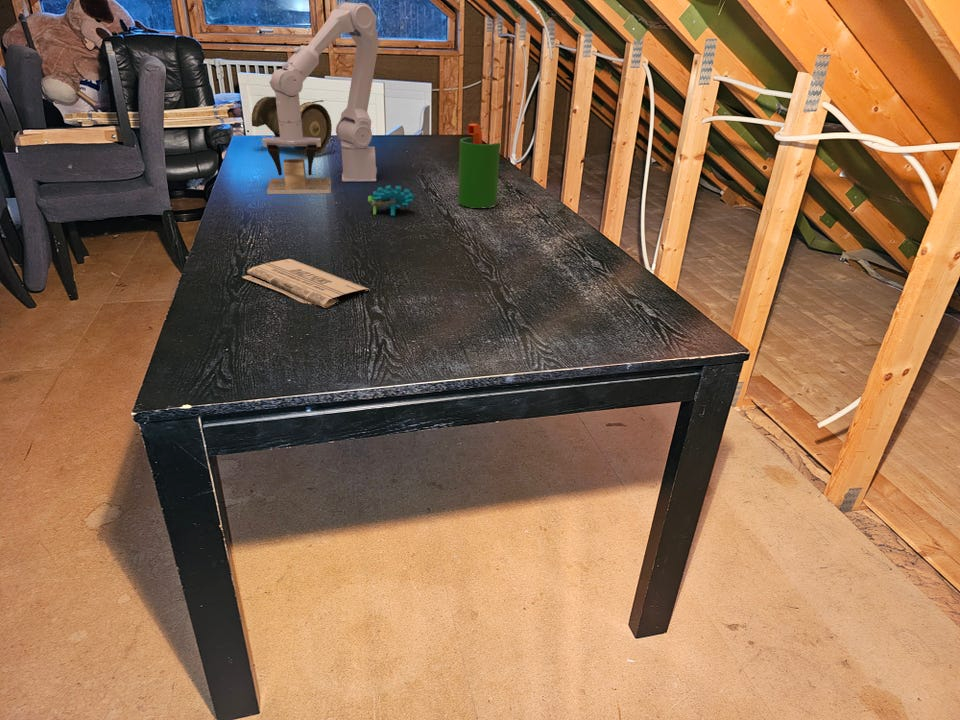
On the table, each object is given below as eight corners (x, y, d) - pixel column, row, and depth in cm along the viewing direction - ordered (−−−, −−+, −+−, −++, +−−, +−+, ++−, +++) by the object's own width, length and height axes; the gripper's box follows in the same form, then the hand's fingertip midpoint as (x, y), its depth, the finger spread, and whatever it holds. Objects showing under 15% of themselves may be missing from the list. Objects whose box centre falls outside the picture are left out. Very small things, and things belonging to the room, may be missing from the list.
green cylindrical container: (501, 203, 170) (506, 122, 160) (487, 211, 163) (491, 128, 153) (466, 197, 173) (468, 118, 164) (451, 205, 166) (452, 123, 156)
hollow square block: (306, 181, 177) (304, 158, 174) (305, 186, 173) (303, 163, 170) (287, 181, 176) (284, 158, 173) (285, 186, 172) (283, 163, 169)
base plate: (331, 181, 182) (329, 162, 179) (330, 193, 172) (329, 173, 169) (271, 182, 179) (269, 162, 177) (267, 194, 169) (264, 173, 166)
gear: (417, 202, 162) (408, 181, 152) (417, 223, 160) (408, 203, 151) (374, 205, 163) (362, 185, 154) (373, 227, 162) (362, 207, 152)
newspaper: (239, 281, 121) (238, 268, 120) (293, 270, 130) (293, 257, 129) (319, 317, 109) (319, 302, 108) (373, 301, 118) (373, 288, 117)
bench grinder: (292, 152, 196) (310, 85, 193) (242, 138, 206) (259, 74, 203) (336, 171, 214) (353, 110, 211) (288, 157, 224) (304, 99, 221)
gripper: (258, 123, 162) (265, 178, 169) (318, 123, 165) (322, 177, 171) (261, 118, 168) (268, 171, 175) (319, 118, 171) (323, 171, 177)
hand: (295, 174), depth 174 cm, fingers open, 7 cm apart
